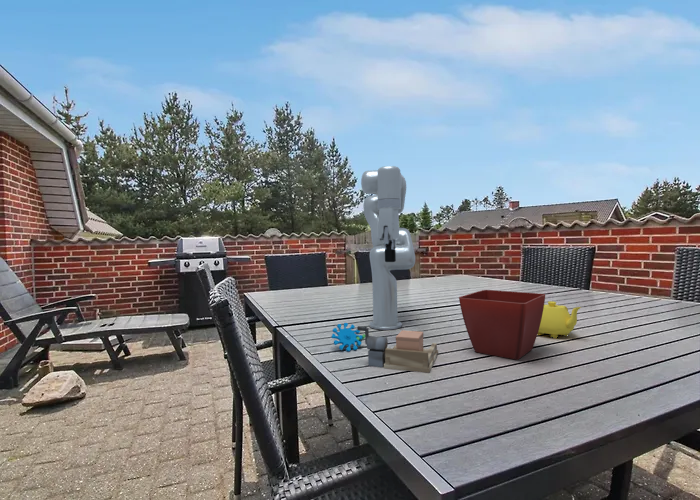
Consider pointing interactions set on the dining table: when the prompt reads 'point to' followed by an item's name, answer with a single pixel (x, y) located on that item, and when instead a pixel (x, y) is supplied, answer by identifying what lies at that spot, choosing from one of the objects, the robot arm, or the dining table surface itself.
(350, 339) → the gear
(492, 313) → the plant pot
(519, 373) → the dining table surface
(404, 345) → the pink-tan cube
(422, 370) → the bay
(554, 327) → the teapot
